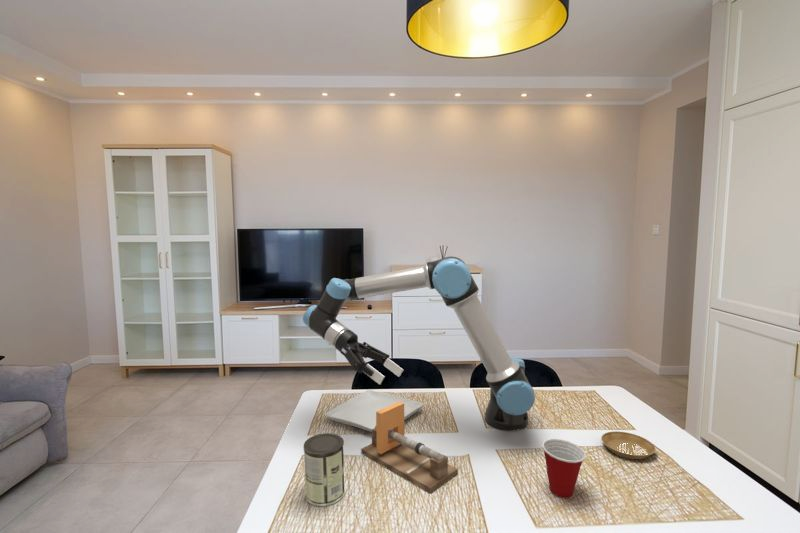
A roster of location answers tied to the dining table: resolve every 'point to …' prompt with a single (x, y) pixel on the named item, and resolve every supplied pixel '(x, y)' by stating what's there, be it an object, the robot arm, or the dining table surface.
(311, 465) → the coffee can
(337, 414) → the square plate
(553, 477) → the plastic cup
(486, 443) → the dining table surface
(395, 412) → the upright orange slab
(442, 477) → the pipe stand
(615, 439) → the plant saucer
